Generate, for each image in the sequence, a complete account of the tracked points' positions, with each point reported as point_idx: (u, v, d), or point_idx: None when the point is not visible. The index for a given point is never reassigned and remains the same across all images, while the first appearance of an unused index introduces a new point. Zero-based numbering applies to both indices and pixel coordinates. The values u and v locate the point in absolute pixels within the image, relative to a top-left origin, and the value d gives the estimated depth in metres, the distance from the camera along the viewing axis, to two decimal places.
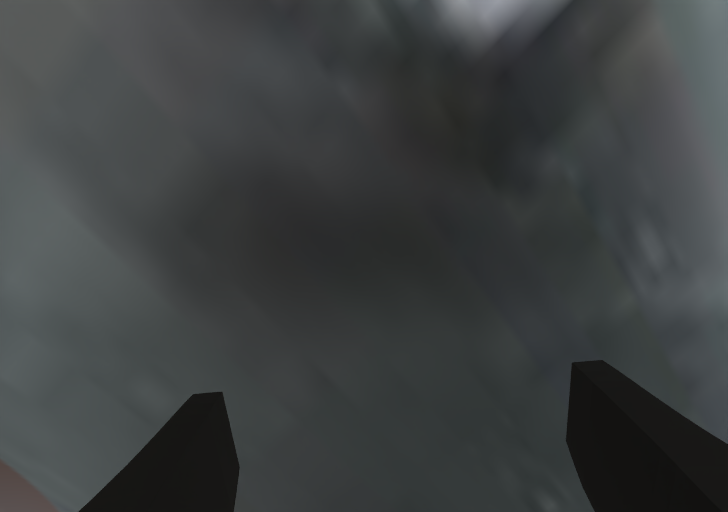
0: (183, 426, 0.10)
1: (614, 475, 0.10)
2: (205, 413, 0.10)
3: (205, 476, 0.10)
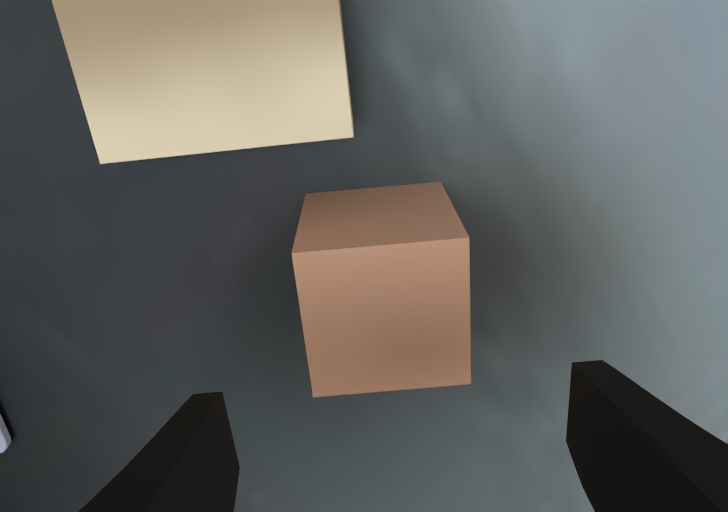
0: (183, 426, 0.10)
1: (614, 475, 0.10)
2: (205, 413, 0.10)
3: (205, 476, 0.10)
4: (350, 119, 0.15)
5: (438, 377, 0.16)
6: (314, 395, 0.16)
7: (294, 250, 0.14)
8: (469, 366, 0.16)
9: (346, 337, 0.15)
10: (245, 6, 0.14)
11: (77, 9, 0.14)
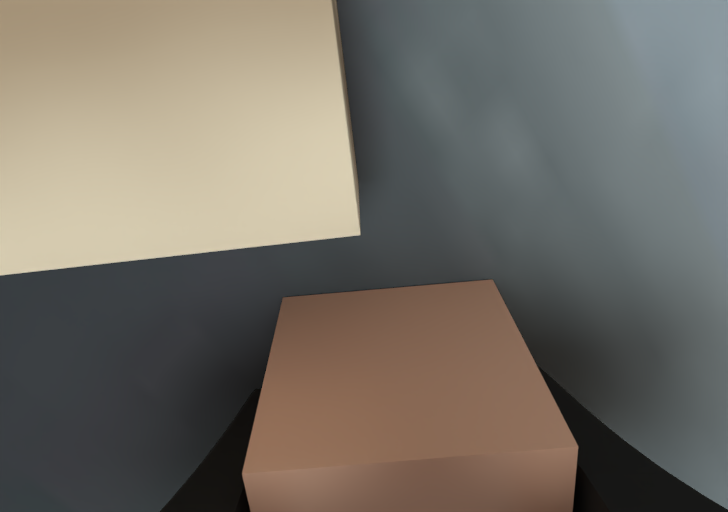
0: None
1: None
2: None
3: None
4: (354, 205, 0.09)
5: None
6: None
7: (247, 466, 0.08)
8: None
9: None
10: (154, 8, 0.07)
11: None
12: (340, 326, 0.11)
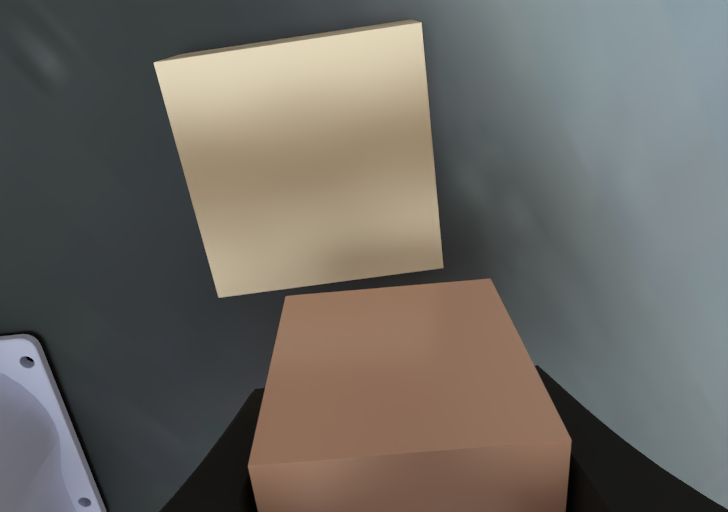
0: (254, 420, 0.10)
1: None
2: None
3: None
4: (441, 253, 0.17)
5: None
6: None
7: (252, 458, 0.08)
8: None
9: None
10: (351, 167, 0.16)
11: (204, 175, 0.16)
12: (342, 324, 0.11)
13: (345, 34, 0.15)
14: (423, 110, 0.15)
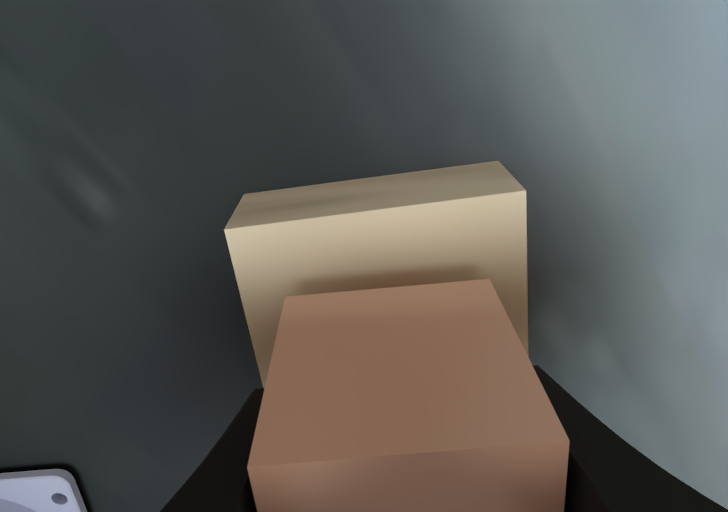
0: (254, 420, 0.10)
1: None
2: None
3: None
4: None
5: None
6: None
7: (251, 459, 0.08)
8: None
9: None
10: None
11: (273, 340, 0.14)
12: (341, 325, 0.11)
13: (439, 201, 0.13)
14: (520, 277, 0.14)
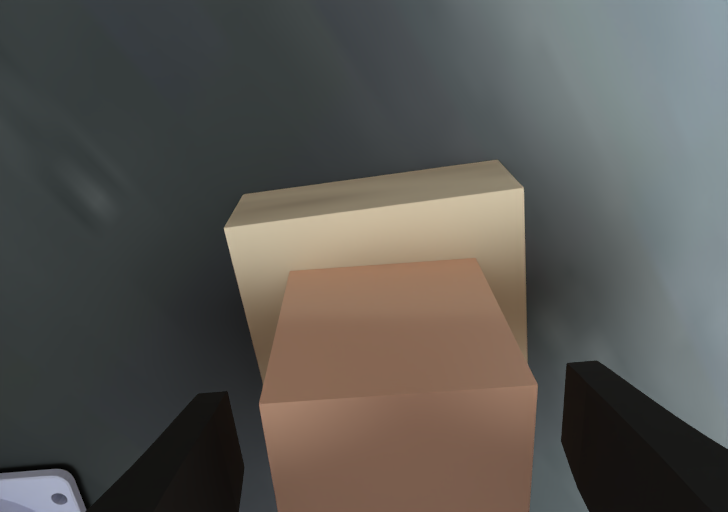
0: (189, 426, 0.10)
1: (608, 475, 0.10)
2: (211, 413, 0.10)
3: (211, 476, 0.10)
4: None
5: None
6: None
7: (263, 398, 0.09)
8: None
9: None
10: None
11: (273, 338, 0.15)
12: (340, 294, 0.12)
13: (438, 199, 0.13)
14: (519, 274, 0.14)
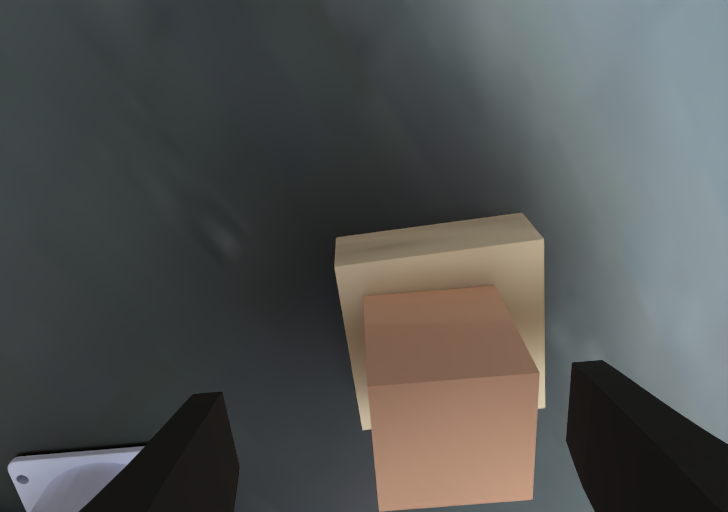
0: (183, 426, 0.10)
1: (614, 475, 0.10)
2: (205, 413, 0.10)
3: (205, 476, 0.10)
4: (543, 397, 0.21)
5: (501, 493, 0.17)
6: (380, 509, 0.17)
7: (369, 383, 0.15)
8: (532, 484, 0.16)
9: (415, 459, 0.16)
10: None
11: (363, 343, 0.20)
12: (403, 313, 0.18)
13: (484, 246, 0.19)
14: (539, 297, 0.20)
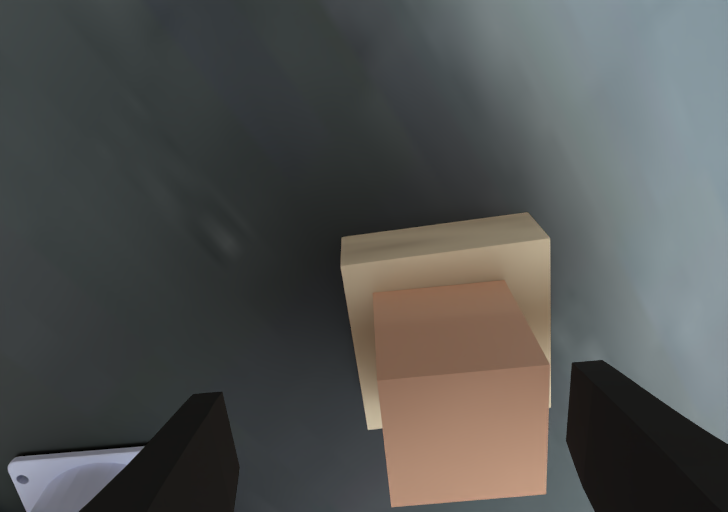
0: (183, 426, 0.10)
1: (614, 475, 0.10)
2: (205, 413, 0.10)
3: (205, 476, 0.10)
4: (549, 397, 0.21)
5: (515, 488, 0.16)
6: (392, 505, 0.17)
7: (378, 377, 0.15)
8: (545, 478, 0.16)
9: (426, 454, 0.16)
10: None
11: (369, 343, 0.20)
12: (413, 309, 0.18)
13: (490, 245, 0.19)
14: (545, 297, 0.20)
